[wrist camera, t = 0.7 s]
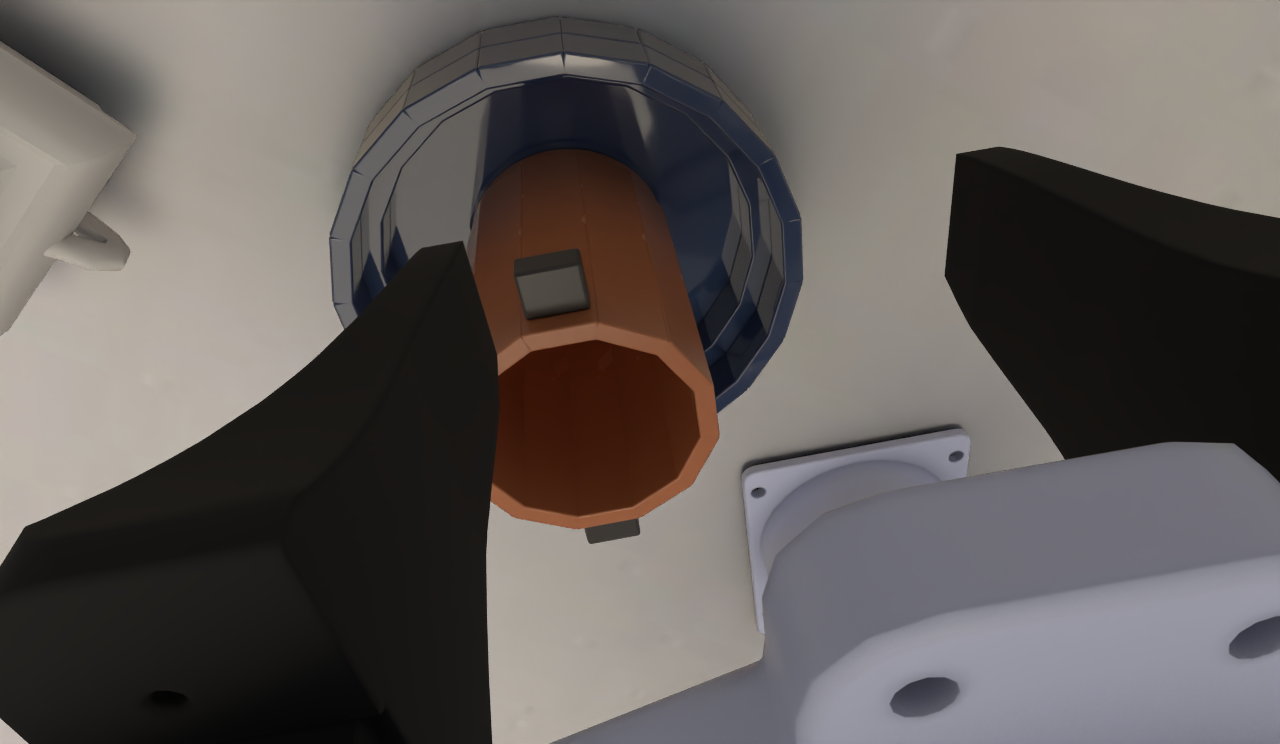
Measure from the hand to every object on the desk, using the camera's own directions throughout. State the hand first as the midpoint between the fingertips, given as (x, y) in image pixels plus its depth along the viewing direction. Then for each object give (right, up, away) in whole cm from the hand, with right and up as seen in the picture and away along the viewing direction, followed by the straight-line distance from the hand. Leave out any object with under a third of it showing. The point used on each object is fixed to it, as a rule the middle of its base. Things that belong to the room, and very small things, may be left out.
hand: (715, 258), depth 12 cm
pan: (-3, +2, +11) cm, 11 cm away
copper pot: (-3, +2, +10) cm, 11 cm away
